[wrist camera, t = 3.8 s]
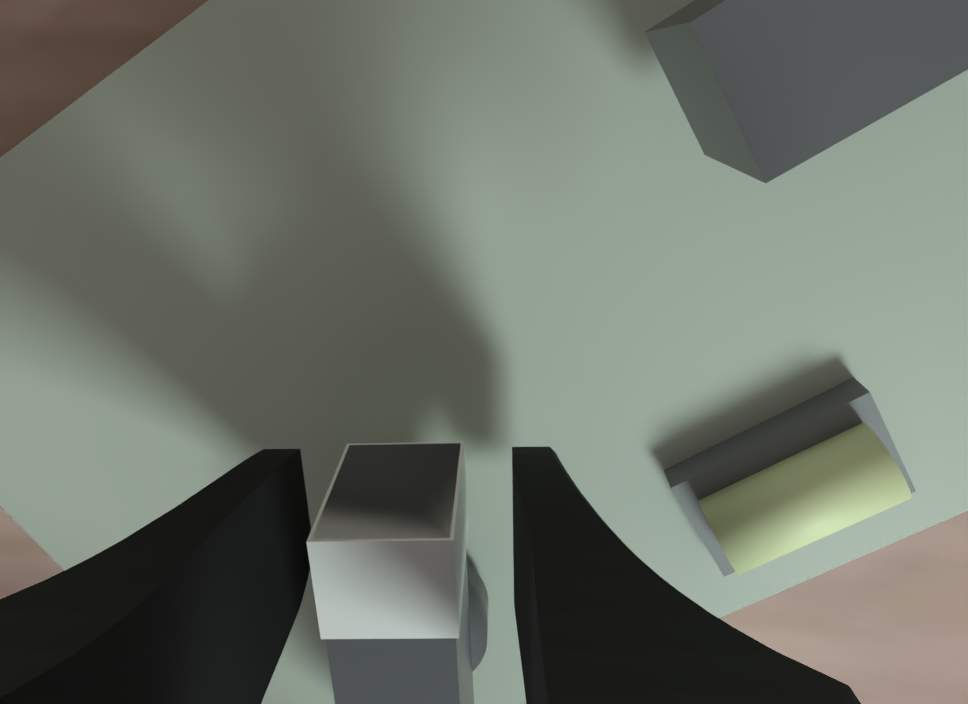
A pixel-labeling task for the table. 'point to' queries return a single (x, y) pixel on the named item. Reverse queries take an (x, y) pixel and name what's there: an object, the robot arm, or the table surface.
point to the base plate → (480, 296)
